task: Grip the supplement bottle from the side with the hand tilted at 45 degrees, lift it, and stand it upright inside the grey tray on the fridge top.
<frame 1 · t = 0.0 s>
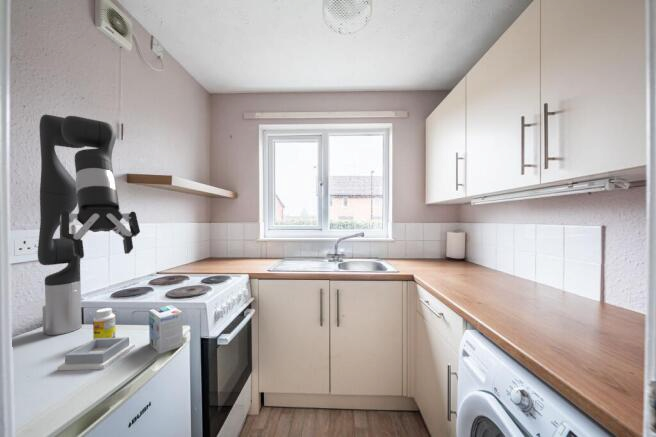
hand: (105, 255, 63), 31 cm above the fridge top, tool tilted 20°, fingers open, 8 cm apart
supplement bottle: (104, 341, 89), on the fridge top
light bulb box: (166, 345, 85), on the fridge top
grey tray: (99, 357, 78), on the fridge top
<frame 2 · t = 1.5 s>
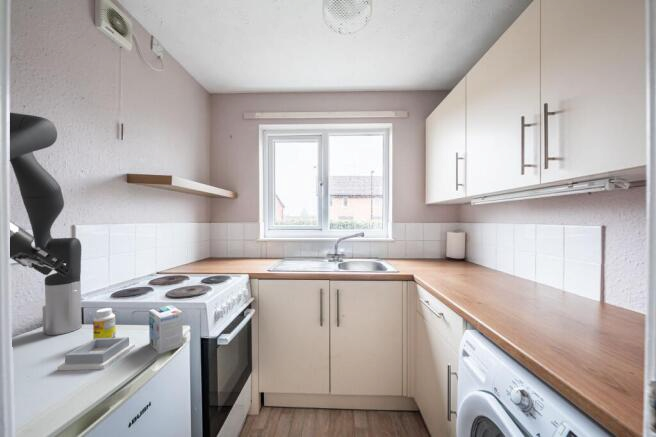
hand: (59, 273, 77), 25 cm above the fridge top, tool tilted 45°, fingers open, 8 cm apart
nothing on the fridge top moved.
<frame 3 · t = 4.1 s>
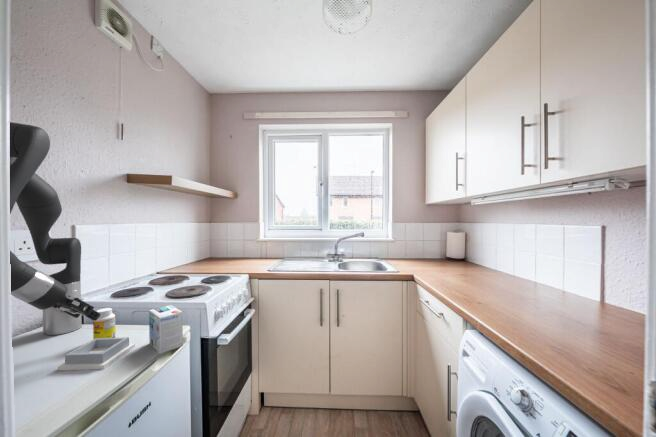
hand: (88, 316, 84), 10 cm above the fridge top, tool tilted 45°, fingers open, 8 cm apart
nothing on the fridge top moved.
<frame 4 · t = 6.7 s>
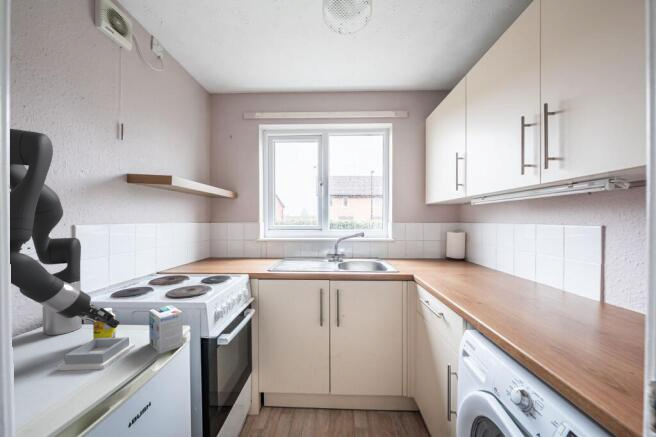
hand: (110, 324, 90), 5 cm above the fridge top, tool tilted 45°, fingers closed on supplement bottle, 5 cm apart
supplement bottle: (104, 341, 89), on the fridge top, touching gripper
everything else where it was.
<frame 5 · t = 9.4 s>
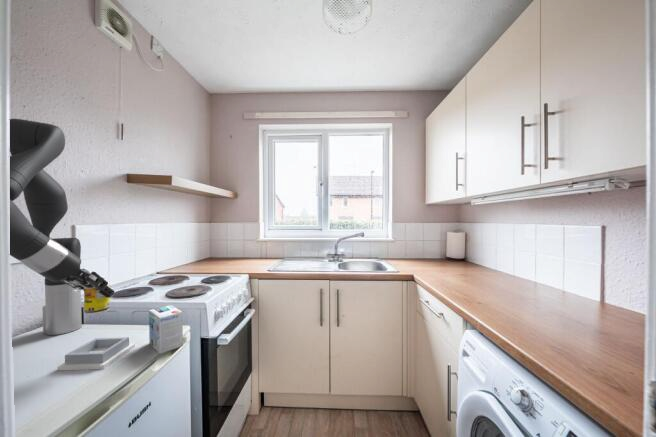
hand: (103, 293, 79), 18 cm above the fridge top, tool tilted 45°, fingers closed on supplement bottle, 5 cm apart
supplement bottle: (97, 312, 78), point 13 cm above the fridge top, touching gripper
everything else where it was.
when the fingers open (7 cm above the fridge top, at t = 12.2 s): supplement bottle drops 1 cm, resting on grey tray.
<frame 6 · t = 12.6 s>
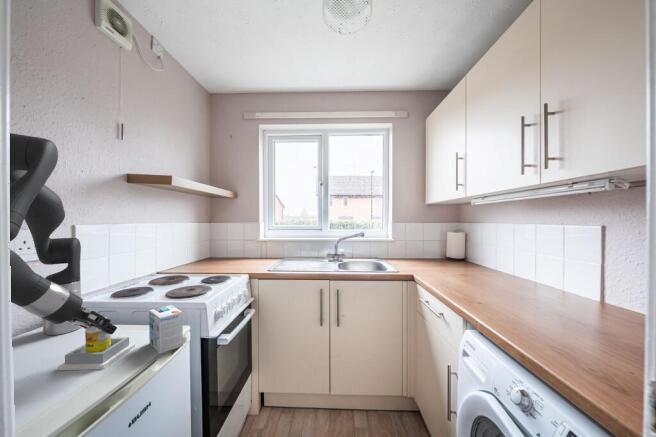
hand: (103, 329, 79), 8 cm above the fridge top, tool tilted 45°, fingers open, 8 cm apart
supplement bottle: (98, 355, 78), point 1 cm above the fridge top, touching grey tray
everything else where it was.
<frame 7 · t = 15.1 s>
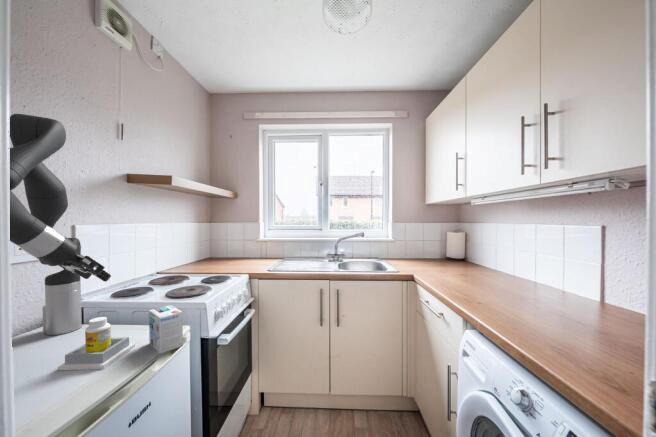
hand: (98, 277, 83), 22 cm above the fridge top, tool tilted 45°, fingers open, 8 cm apart
nothing on the fridge top moved.
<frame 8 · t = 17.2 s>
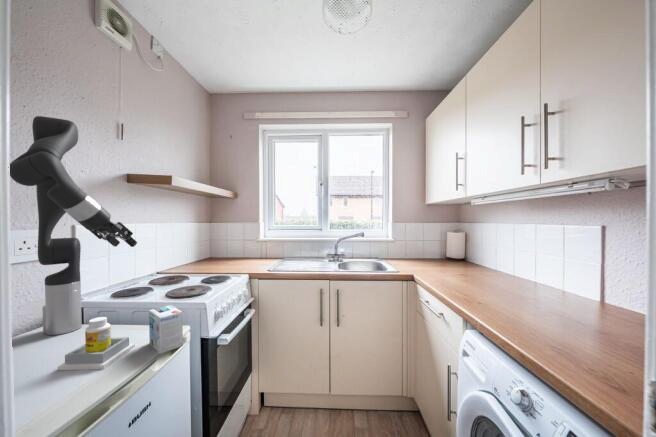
hand: (126, 244, 96), 31 cm above the fridge top, tool tilted 45°, fingers open, 8 cm apart
nothing on the fridge top moved.
at the end: supplement bottle 0.2 cm off-centre on the grey tray, point 0.8 cm above the grey tray's base; supplement bottle tilted 0°; the gripper is holding nothing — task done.
